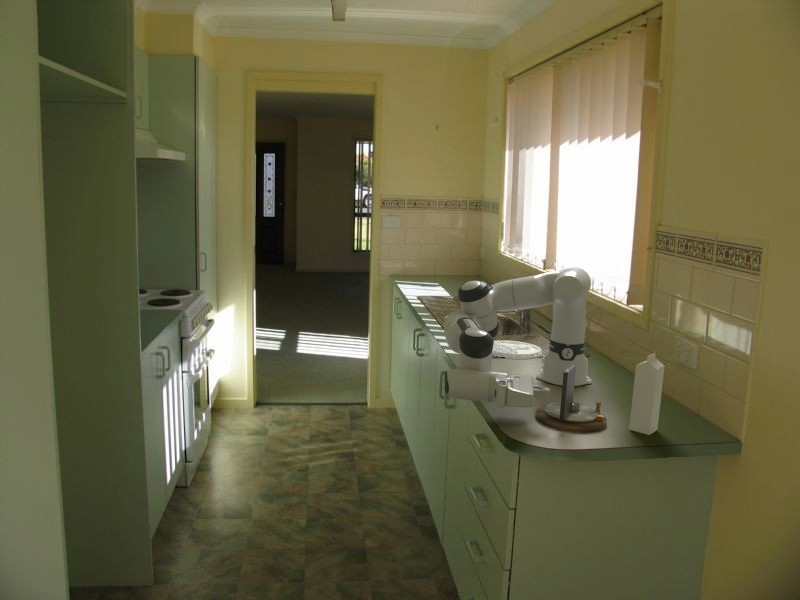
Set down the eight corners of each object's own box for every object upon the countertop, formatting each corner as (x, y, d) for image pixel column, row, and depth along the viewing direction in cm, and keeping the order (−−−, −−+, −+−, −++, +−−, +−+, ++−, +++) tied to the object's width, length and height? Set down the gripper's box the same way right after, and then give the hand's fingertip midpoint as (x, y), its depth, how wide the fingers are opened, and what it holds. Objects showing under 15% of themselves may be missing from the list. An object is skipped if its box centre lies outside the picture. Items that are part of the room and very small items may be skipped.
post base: (535, 406, 221) (536, 390, 220) (602, 412, 218) (604, 396, 217) (535, 428, 201) (537, 410, 201) (609, 435, 198) (611, 418, 197)
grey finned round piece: (552, 402, 219) (557, 354, 216) (608, 413, 212) (613, 363, 209) (534, 419, 203) (539, 367, 200) (594, 431, 195) (599, 377, 193)
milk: (657, 430, 205) (666, 355, 201) (649, 435, 200) (658, 358, 196) (636, 424, 208) (645, 350, 205) (628, 429, 204) (637, 353, 200)
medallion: (554, 357, 284) (554, 351, 284) (499, 363, 271) (499, 357, 271) (516, 343, 304) (516, 338, 304) (463, 348, 291) (463, 343, 291)
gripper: (501, 388, 216) (548, 392, 214) (498, 409, 196) (550, 414, 194) (502, 367, 215) (549, 372, 212) (499, 386, 195) (552, 391, 193)
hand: (550, 392), depth 203 cm, fingers closed
